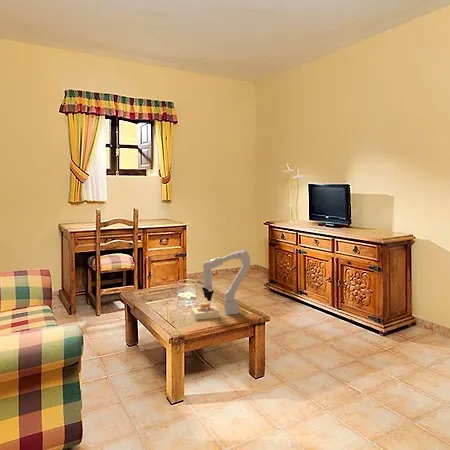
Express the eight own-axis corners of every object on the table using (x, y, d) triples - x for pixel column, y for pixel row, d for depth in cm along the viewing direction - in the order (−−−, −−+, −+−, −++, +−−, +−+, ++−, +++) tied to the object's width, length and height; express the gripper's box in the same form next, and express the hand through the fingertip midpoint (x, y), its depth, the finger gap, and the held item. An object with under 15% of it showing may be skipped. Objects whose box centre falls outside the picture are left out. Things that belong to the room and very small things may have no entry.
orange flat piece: (209, 311, 263) (209, 303, 262) (209, 312, 262) (209, 304, 261) (200, 312, 261) (200, 304, 261) (201, 313, 260) (201, 305, 260)
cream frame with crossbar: (214, 311, 270) (214, 303, 269) (219, 317, 258) (219, 308, 258) (191, 313, 265) (191, 305, 265) (195, 319, 254) (195, 311, 253)
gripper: (199, 277, 271) (199, 296, 272) (204, 282, 257) (204, 302, 258) (209, 276, 273) (209, 295, 274) (214, 281, 259) (215, 301, 260)
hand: (207, 299), depth 266 cm, fingers open, 7 cm apart
